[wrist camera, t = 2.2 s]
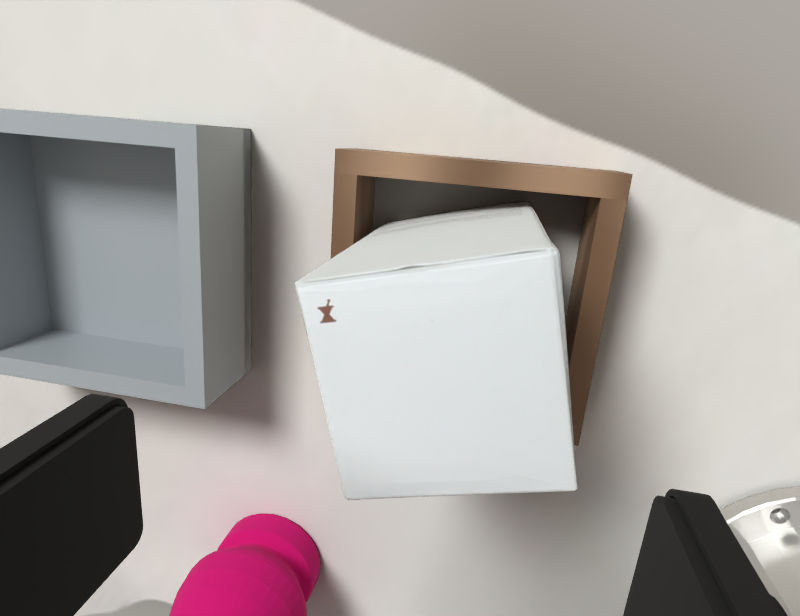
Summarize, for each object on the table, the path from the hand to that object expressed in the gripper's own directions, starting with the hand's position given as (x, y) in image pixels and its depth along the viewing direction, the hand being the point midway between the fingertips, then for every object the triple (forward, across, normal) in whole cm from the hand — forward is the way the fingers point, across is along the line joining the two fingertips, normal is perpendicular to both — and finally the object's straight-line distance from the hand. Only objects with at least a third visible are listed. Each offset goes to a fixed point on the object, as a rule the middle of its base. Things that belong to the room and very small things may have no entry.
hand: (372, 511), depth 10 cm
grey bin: (+19, +17, 0) cm, 25 cm away
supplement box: (+19, -1, 0) cm, 19 cm away
